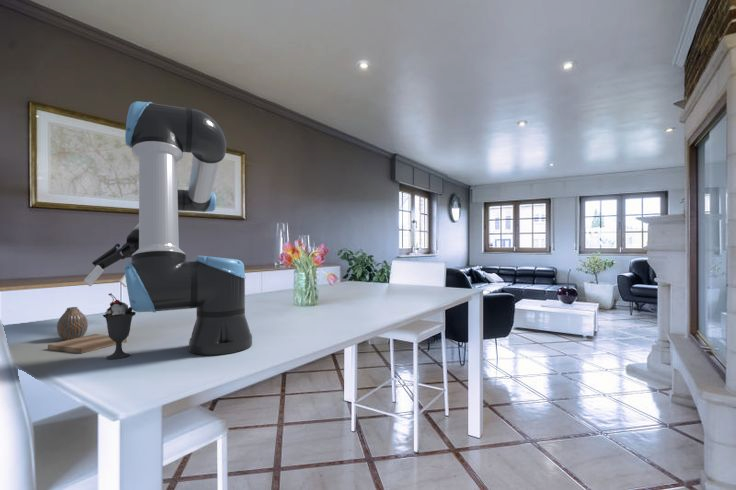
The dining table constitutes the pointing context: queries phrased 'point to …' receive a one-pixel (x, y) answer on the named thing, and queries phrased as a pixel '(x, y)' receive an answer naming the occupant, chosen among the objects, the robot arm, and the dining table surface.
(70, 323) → the vase
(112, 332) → the sundae
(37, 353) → the dining table surface
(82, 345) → the walnut board
